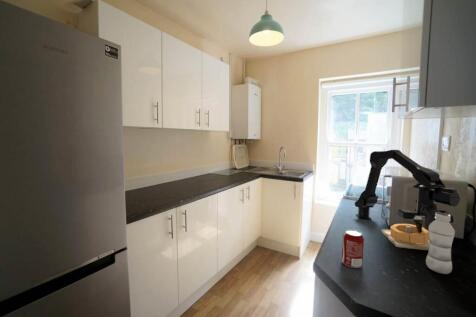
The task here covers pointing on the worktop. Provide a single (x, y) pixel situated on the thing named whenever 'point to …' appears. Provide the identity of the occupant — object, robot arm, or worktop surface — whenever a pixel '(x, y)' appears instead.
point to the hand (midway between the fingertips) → (423, 234)
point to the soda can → (352, 248)
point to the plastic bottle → (440, 244)
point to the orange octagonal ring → (415, 237)
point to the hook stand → (405, 244)
